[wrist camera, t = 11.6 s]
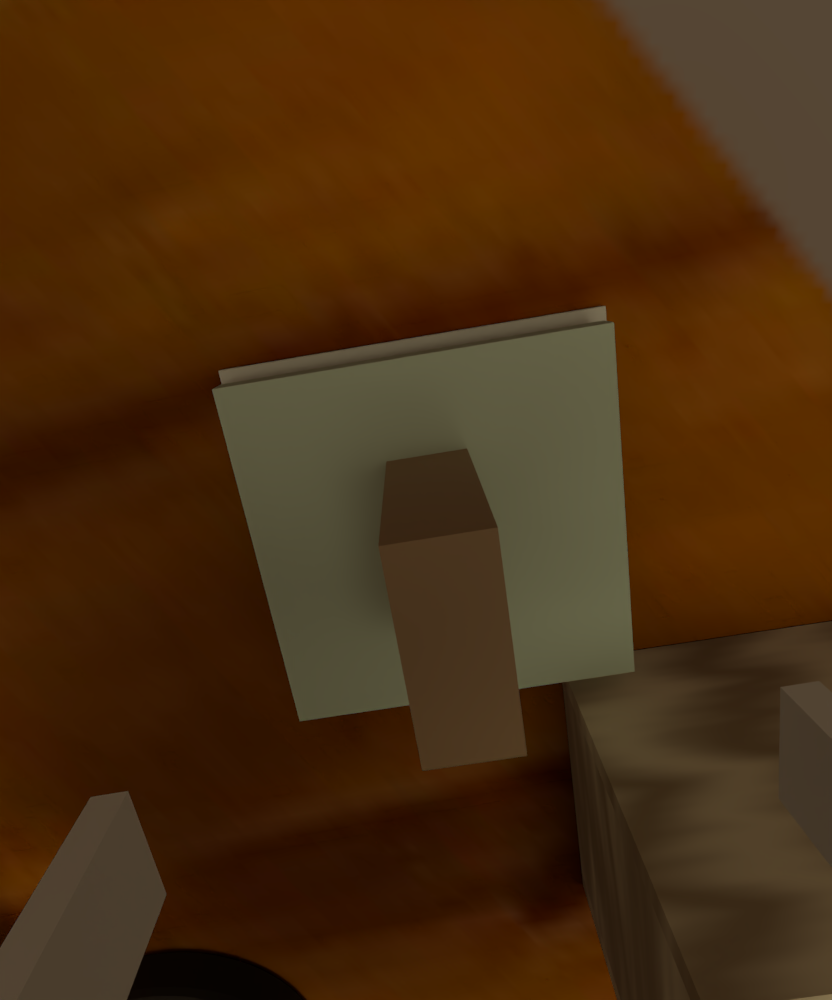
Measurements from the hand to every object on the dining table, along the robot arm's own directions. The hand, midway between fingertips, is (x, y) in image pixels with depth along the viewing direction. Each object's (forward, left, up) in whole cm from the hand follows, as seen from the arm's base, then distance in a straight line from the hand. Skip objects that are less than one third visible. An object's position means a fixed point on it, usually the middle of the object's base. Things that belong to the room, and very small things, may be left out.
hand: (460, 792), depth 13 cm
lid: (0, 0, -15) cm, 15 cm away
